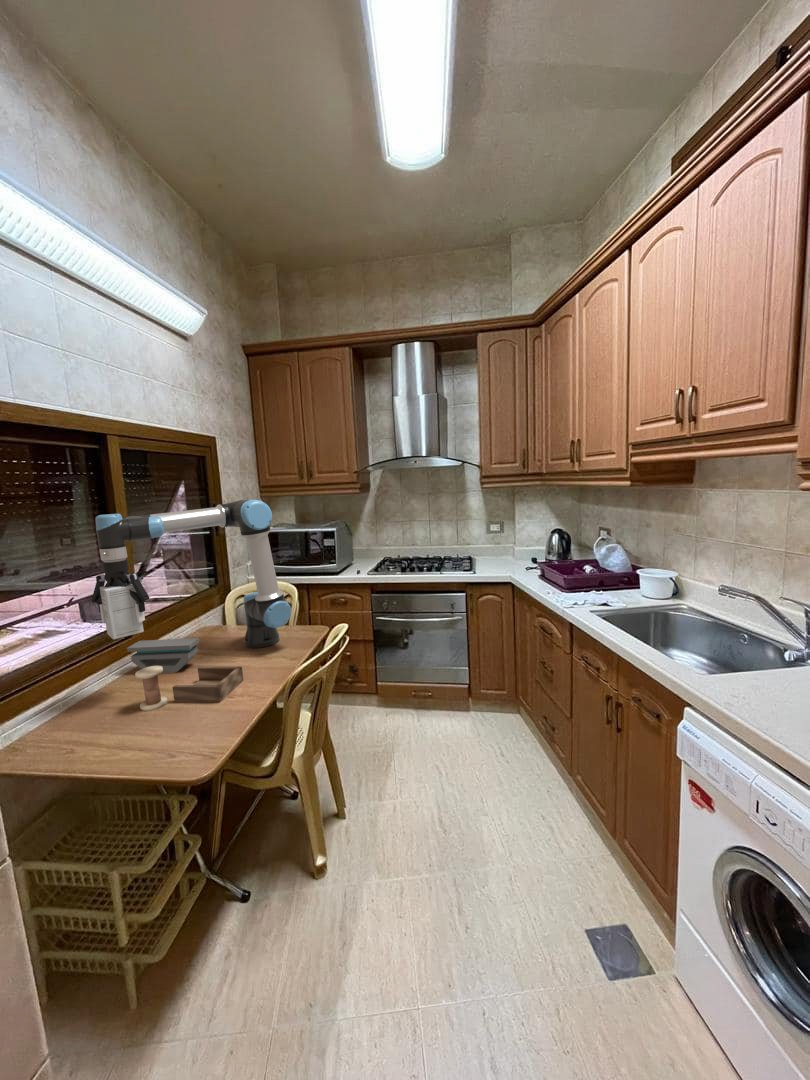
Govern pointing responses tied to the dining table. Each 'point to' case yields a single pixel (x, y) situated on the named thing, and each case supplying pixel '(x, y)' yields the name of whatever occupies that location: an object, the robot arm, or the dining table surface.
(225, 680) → the open wooden tray
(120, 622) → the supplement box
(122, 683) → the dining table surface
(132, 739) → the dining table surface
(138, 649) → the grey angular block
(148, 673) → the bobbin post
